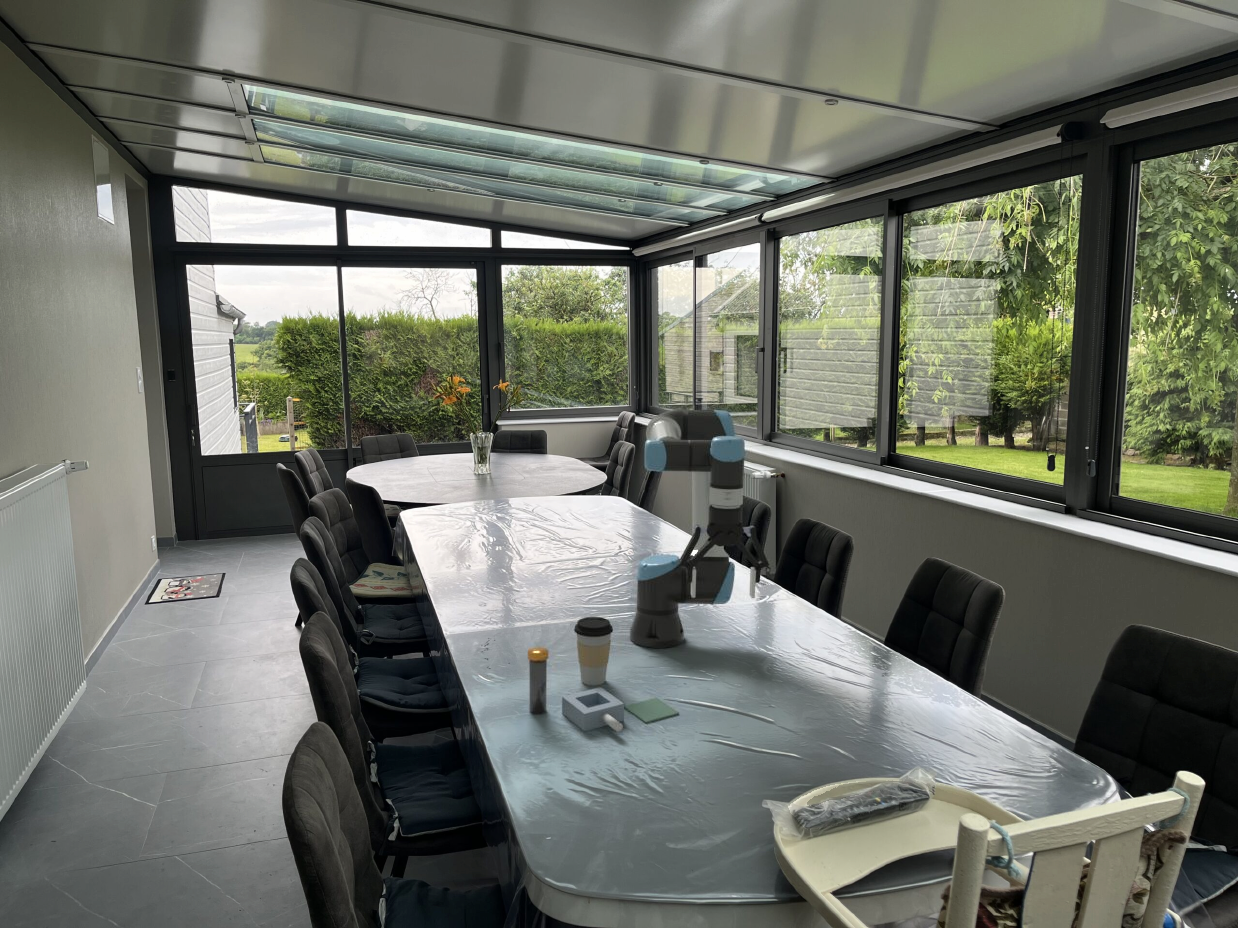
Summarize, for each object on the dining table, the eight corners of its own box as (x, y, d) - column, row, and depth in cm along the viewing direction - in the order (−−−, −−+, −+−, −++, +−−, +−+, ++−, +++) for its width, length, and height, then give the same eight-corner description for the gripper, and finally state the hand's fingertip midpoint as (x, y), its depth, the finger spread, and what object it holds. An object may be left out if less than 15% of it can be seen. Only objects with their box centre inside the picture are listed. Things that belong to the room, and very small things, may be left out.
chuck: (562, 713, 187) (562, 696, 186) (600, 703, 192) (600, 686, 191) (598, 743, 173) (598, 724, 173) (638, 731, 178) (639, 714, 178)
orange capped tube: (524, 708, 189) (524, 649, 186) (542, 704, 191) (542, 645, 189) (533, 716, 185) (533, 656, 183) (551, 712, 187) (551, 652, 185)
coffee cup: (616, 675, 208) (617, 617, 205) (605, 690, 199) (606, 630, 196) (580, 671, 210) (581, 613, 208) (568, 685, 201) (568, 626, 199)
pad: (623, 707, 190) (623, 705, 190) (656, 699, 195) (656, 697, 195) (645, 723, 182) (645, 721, 182) (679, 713, 187) (679, 712, 187)
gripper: (671, 508, 184) (669, 600, 187) (784, 509, 185) (780, 601, 188) (669, 501, 192) (667, 590, 195) (777, 502, 192) (773, 591, 195)
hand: (722, 596), depth 191 cm, fingers open, 13 cm apart
